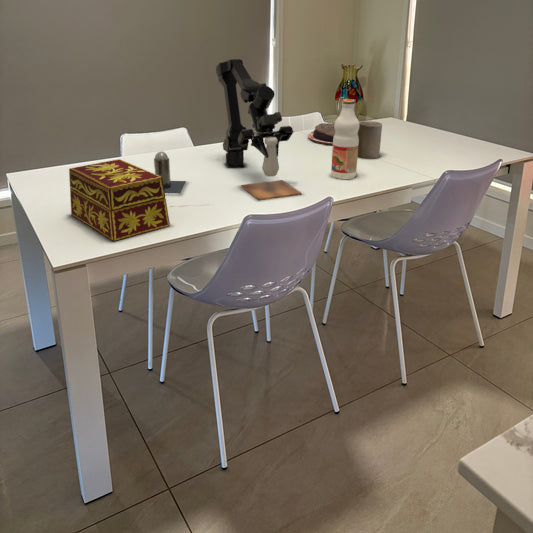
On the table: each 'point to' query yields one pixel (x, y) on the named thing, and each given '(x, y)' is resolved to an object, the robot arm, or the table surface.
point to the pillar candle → (369, 139)
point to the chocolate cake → (323, 133)
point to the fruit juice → (345, 142)
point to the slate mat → (175, 187)
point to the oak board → (270, 190)
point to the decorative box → (118, 199)
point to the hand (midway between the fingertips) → (272, 157)
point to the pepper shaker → (163, 168)
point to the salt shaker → (271, 157)
